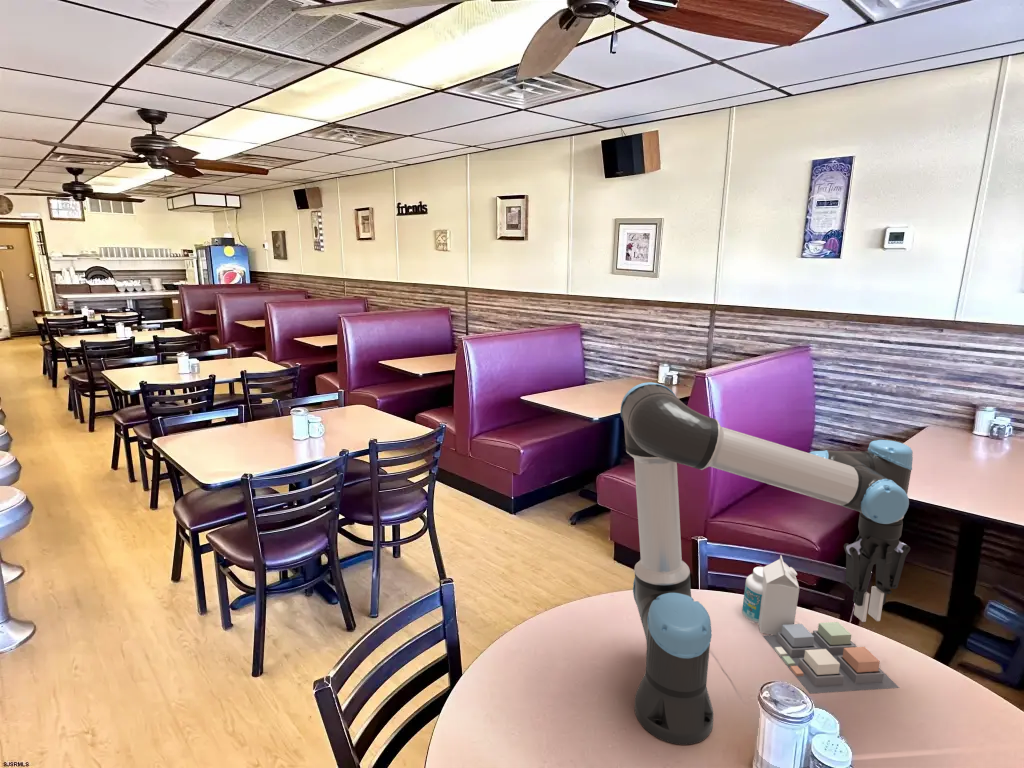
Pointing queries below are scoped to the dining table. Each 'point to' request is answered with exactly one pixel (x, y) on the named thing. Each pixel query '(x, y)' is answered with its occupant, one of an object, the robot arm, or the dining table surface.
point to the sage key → (834, 633)
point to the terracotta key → (861, 659)
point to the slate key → (797, 635)
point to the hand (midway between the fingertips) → (866, 617)
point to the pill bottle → (753, 595)
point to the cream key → (821, 661)
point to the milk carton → (778, 597)
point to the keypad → (827, 682)
